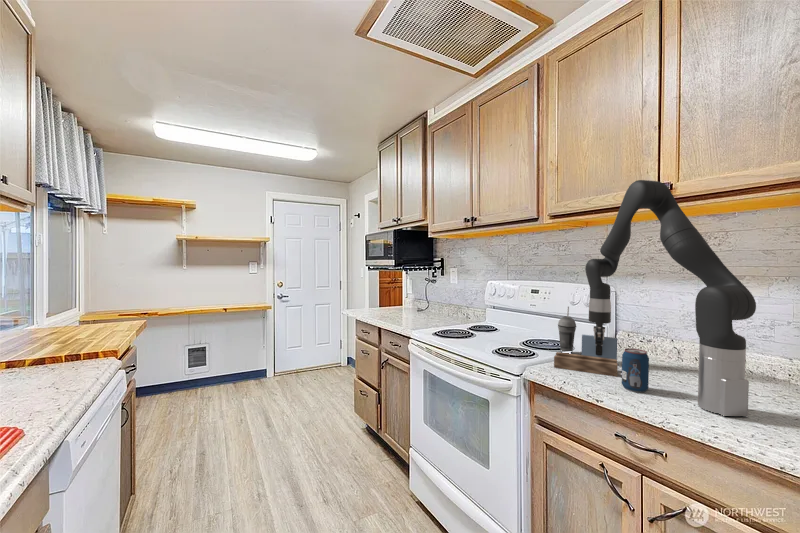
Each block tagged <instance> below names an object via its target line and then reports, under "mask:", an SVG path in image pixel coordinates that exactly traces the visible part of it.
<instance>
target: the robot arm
mask: <svg viewBox="0 0 800 533" xmlns="http://www.w3.org/2000/svg"><path fill="white" fill-rule="evenodd" d="M640 209H645V210H647V209H648V210H650V211H651V212H652V213H653V214H654V215H655V217H657V219H658V221H659V223H660V230H659V231H660V232H659V237H660V238H659V239H660V242H661V244H662V246H663V247H664V250H666V252H667V254H669V256H670V257H671V259H673V261H675V262H676V263H677V264H678V265H679V266H681V267H682V268H684V269H686V270H687V271H688V272H690V273H691V274H693V275H695V277H696V278H698V279H699V280H700V281H702V283H703V284H704V285H705V287H703V288H701V289H700V290H699V291H698V292H697V295H696V296H695V303H694V304H695V305H694V306H695V307H694V308H695V309H694V310H695V313H694V314H695V315H694V316H695V330H696V331H695V332H696V333H697V336H698V337H699V338H698V339H699V341H698V343H699V347H698V350H699V351H698V377H697V378H698V382H697V383H698V384H697V406H698V405H699V406H700V407H701V408H700V407H699V406H698V407H699V408H700V409H702V408H703V409H702V410H704V409H706V410H709V411H712V412H715V413H719V414H722V415H724V416H748V417H749V393H750V392H749V390H750V388H749V387H750V386H749V385H750V381H749V380H748V379H747V378H746V359H747V357H746V356H747V340H746V338H745V337H744V336H742V335H740V334H738V333H736V332H735V330H734V328H733V321H743V320H744V321H745V320H748V319H750V318H751V317H753V315H755V313H756V311H757V303H756V299H755V297H754V295H753V294H752V293H751V291H750V290H749V289H748V287H746V285H745V284H743V283H742V282H741V281H740V279H738V278H737V277H736V276H735V275H734V274H733V272H732V271H731V270H729V269H728V267H727V266H726V264H724V262H723V261H722V260H721V259H720V258H719V256H718V255H717V254H716V252H715V251H714V250H713V249H712V248H711V247H710V245H709V243H708V242H707V241H706V239H705V237H704V236H702V234H701V232H700V231H699V230H698V229H697V228H696V227H695V225H693V223H692V222H691V220H690V219H689V218H688V216H687V215H686V214H685V212H684V211H683V210H682V209H681V207H680V205H679V203H678V202H677V200H676V198H675V196H674V195H673V193H672V191H671V190H670V188H669V187H668V186H667V185H666V184H665V183H664V182H662V181H658V180H646V179H640V180H639V179H638V180H635V181H633V182H631V184H630V185H629V186H628V188H627V190H626V192H625V194H624V195H623V199H622V201H621V204H620V206H619V209H618V212H617V214H616V217H615V220H614V222H613V224H612V228H611V230H610V232H609V233H608V235H607V236H606V238H605V240H604V242H603V243H602V245H601V247H600V248H599V250H600V252H599V253H600V254H601V255H602V256H604V258H591V259H589V260H587V262H586V264H585V274H586V279H587V282H588V286H589V301H588V322H590V323H594V324H595V325H593V336H594V339H595V344H596V355H600V356H601V355H602V346H603V340H604V337H605V333H606V326H604V324H605V325H606V324H610V323H611V320H612V303H611V285H610V284H608V283H605V282H603V280H602V278H608V277H611V276H613V275H614V274H615V273H616V271H617V269H618V266H619V264H620V263H619V262H620V258H621V255H622V254H623V252H624V250H625V249H626V248H627V246H628V244H629V242H630V239H631V234H632V230H631V229H632V228H631V227H632V226H631V224H632V220H633V218H634V216H635V214H637V212H638V210H640ZM597 340H599V341H601V342H597ZM706 410H705V411H706ZM709 411H708V412H709ZM712 412H711V413H712ZM715 413H714V414H715ZM719 414H718V415H719ZM722 415H721V416H722ZM724 416H723V417H724Z"/></svg>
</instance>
